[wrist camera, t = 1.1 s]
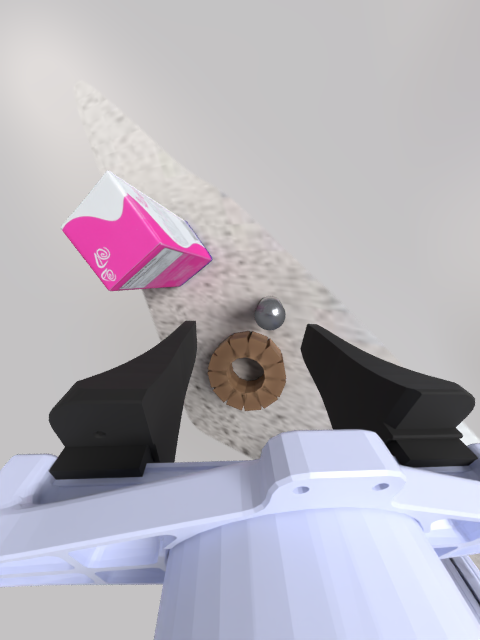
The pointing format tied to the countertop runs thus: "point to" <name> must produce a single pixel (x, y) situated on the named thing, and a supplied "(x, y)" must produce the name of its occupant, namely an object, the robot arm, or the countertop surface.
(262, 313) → the metal peg
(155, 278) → the supplement box
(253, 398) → the walnut bead
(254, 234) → the countertop surface
